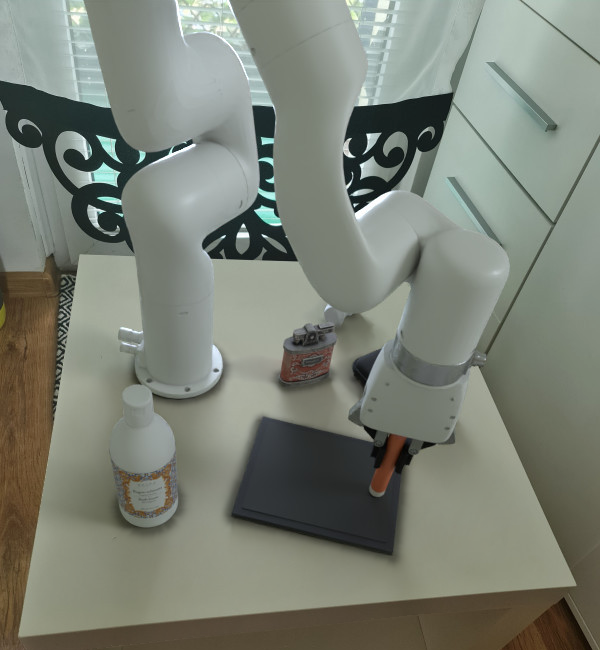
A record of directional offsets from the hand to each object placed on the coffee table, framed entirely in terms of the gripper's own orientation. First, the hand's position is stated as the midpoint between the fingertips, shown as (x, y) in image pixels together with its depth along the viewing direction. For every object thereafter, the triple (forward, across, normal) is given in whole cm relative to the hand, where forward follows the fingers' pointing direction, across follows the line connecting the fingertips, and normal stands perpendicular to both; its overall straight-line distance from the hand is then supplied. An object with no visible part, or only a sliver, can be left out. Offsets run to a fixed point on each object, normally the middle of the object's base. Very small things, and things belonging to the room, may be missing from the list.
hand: (388, 461), depth 74 cm
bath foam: (+8, +27, +9) cm, 29 cm away
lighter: (+8, +13, -18) cm, 24 cm away
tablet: (+8, +7, 0) cm, 10 cm away
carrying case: (+8, -1, -19) cm, 21 cm away
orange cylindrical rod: (+7, 0, 0) cm, 7 cm away
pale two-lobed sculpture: (+8, +10, -34) cm, 36 cm away
